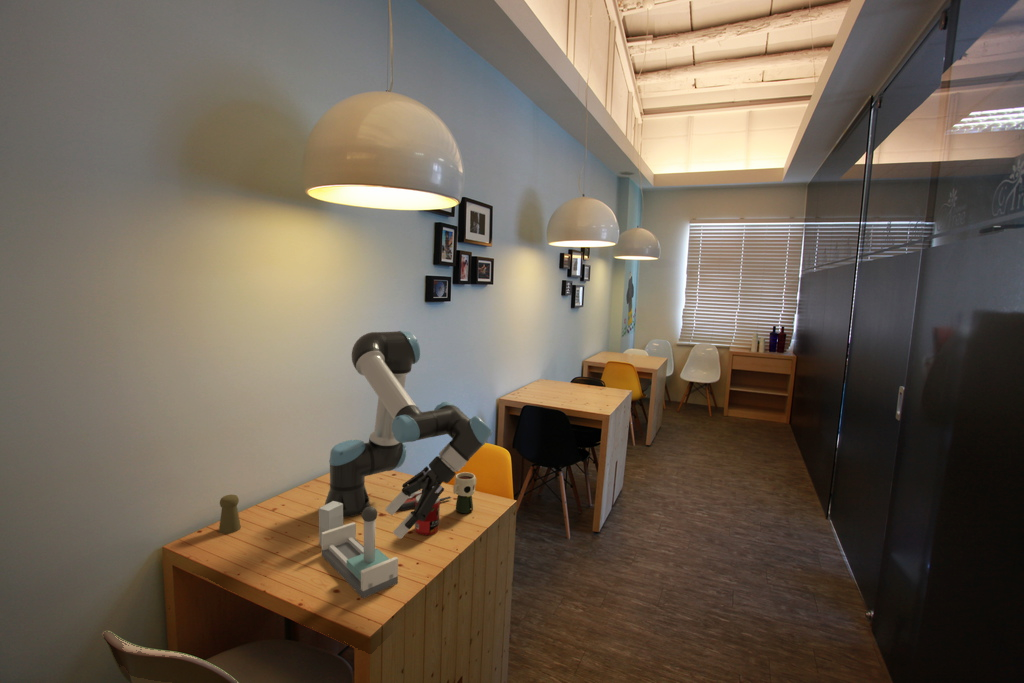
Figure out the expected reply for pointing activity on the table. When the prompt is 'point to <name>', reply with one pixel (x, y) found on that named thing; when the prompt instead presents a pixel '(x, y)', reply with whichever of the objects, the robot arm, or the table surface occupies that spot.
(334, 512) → the skincare box
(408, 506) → the walkie-talkie
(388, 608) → the table surface
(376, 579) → the rail track
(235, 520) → the olive pawn figure
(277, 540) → the table surface
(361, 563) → the carriage
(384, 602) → the table surface
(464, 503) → the character mug
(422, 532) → the canned food
